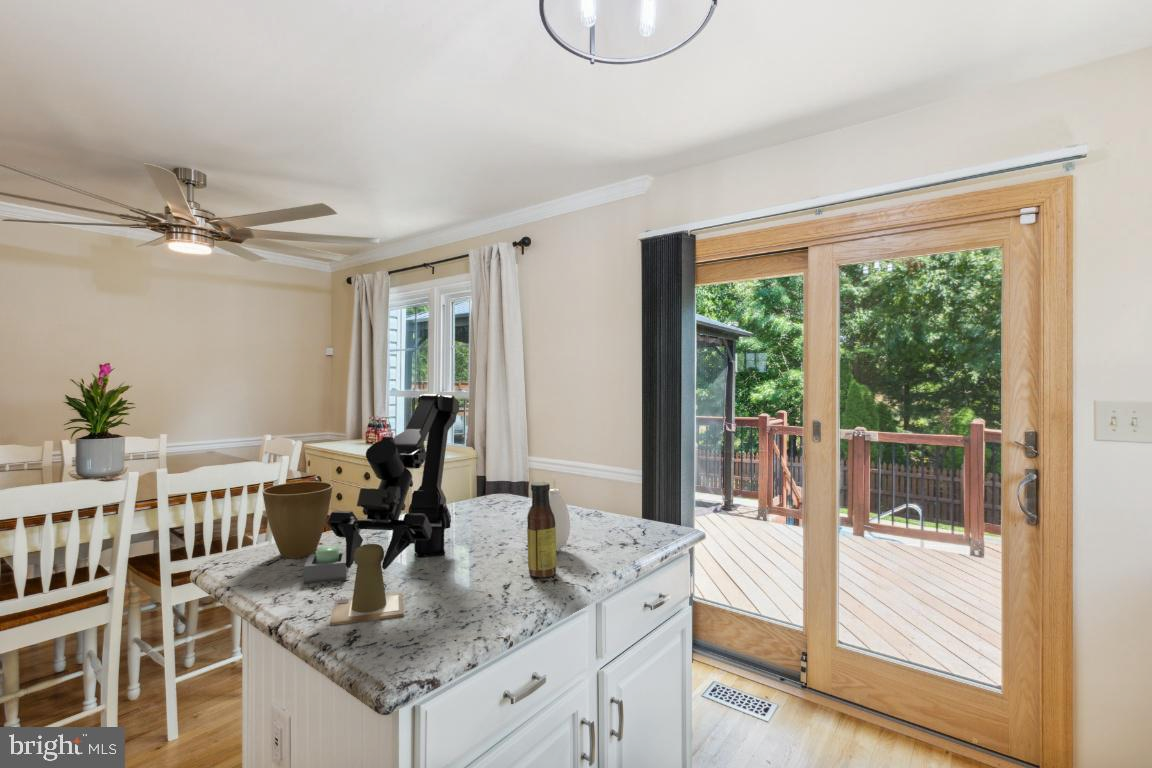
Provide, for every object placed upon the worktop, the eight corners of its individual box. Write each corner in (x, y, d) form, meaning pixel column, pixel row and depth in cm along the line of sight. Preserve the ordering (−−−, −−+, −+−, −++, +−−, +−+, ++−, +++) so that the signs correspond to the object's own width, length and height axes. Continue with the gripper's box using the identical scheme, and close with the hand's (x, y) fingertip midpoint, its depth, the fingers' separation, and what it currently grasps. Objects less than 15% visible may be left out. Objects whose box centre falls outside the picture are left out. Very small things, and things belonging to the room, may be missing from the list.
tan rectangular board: (402, 594, 105) (402, 591, 105) (403, 616, 95) (403, 612, 95) (335, 602, 101) (335, 599, 101) (329, 625, 91) (329, 621, 91)
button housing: (349, 566, 120) (349, 551, 120) (346, 579, 113) (346, 562, 113) (309, 570, 118) (309, 554, 117) (303, 583, 110) (304, 566, 110)
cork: (383, 611, 96) (383, 550, 96) (347, 613, 95) (347, 551, 95) (388, 597, 102) (388, 539, 102) (355, 599, 101) (355, 541, 101)
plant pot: (285, 543, 136) (285, 480, 136) (342, 545, 136) (343, 482, 136) (247, 563, 121) (248, 492, 121) (311, 565, 121) (312, 494, 121)
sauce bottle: (560, 571, 119) (561, 481, 119) (550, 580, 113) (551, 487, 113) (533, 567, 121) (534, 479, 121) (521, 576, 115) (522, 484, 115)
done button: (339, 558, 118) (339, 545, 118) (337, 565, 114) (338, 551, 114) (317, 560, 116) (317, 547, 116) (314, 567, 112) (315, 553, 112)
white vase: (551, 558, 127) (552, 483, 127) (531, 550, 133) (532, 478, 133) (575, 552, 132) (576, 479, 132) (555, 544, 138) (556, 474, 138)
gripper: (332, 468, 103) (297, 544, 92) (427, 471, 101) (403, 547, 90) (352, 500, 111) (322, 573, 100) (440, 503, 109) (420, 577, 98)
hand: (365, 567), depth 97 cm, fingers open, 6 cm apart
